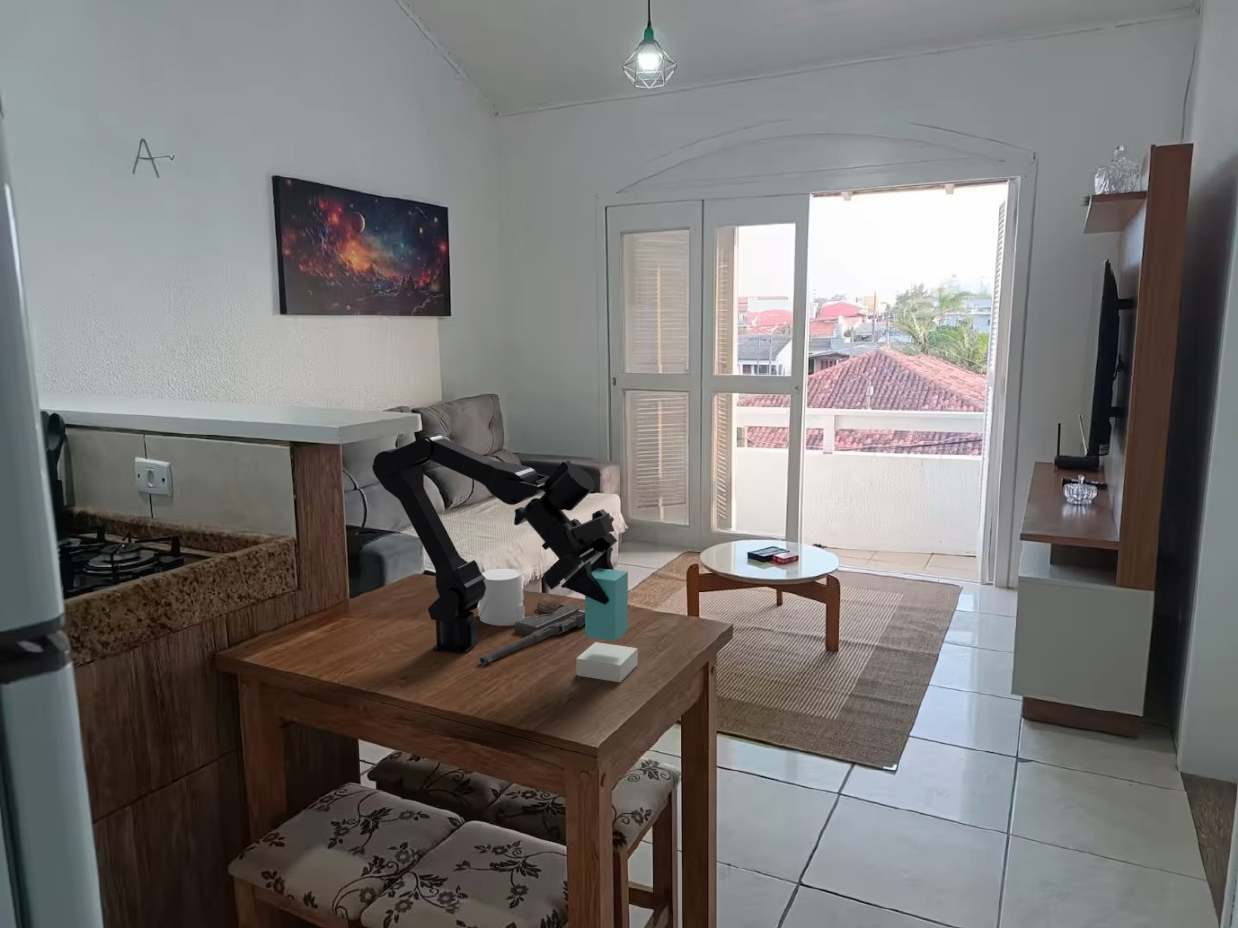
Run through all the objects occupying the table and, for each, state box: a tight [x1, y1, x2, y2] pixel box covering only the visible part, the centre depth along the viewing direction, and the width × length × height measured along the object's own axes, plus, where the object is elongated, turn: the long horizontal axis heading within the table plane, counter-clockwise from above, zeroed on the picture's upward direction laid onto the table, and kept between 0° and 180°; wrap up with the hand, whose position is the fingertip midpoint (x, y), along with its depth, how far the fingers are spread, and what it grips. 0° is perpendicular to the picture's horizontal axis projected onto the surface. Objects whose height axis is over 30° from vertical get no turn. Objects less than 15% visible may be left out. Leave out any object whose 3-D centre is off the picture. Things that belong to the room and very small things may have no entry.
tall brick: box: [584, 568, 629, 642], centre depth 148 cm, size 6×6×10 cm
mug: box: [475, 568, 526, 627], centre depth 175 cm, size 12×9×8 cm
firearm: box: [478, 596, 585, 666], centre depth 168 cm, size 3×30×15 cm
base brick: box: [575, 641, 639, 683], centre depth 150 cm, size 8×8×3 cm
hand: (614, 597), depth 147 cm, fingers closed on tall brick, 5 cm apart
